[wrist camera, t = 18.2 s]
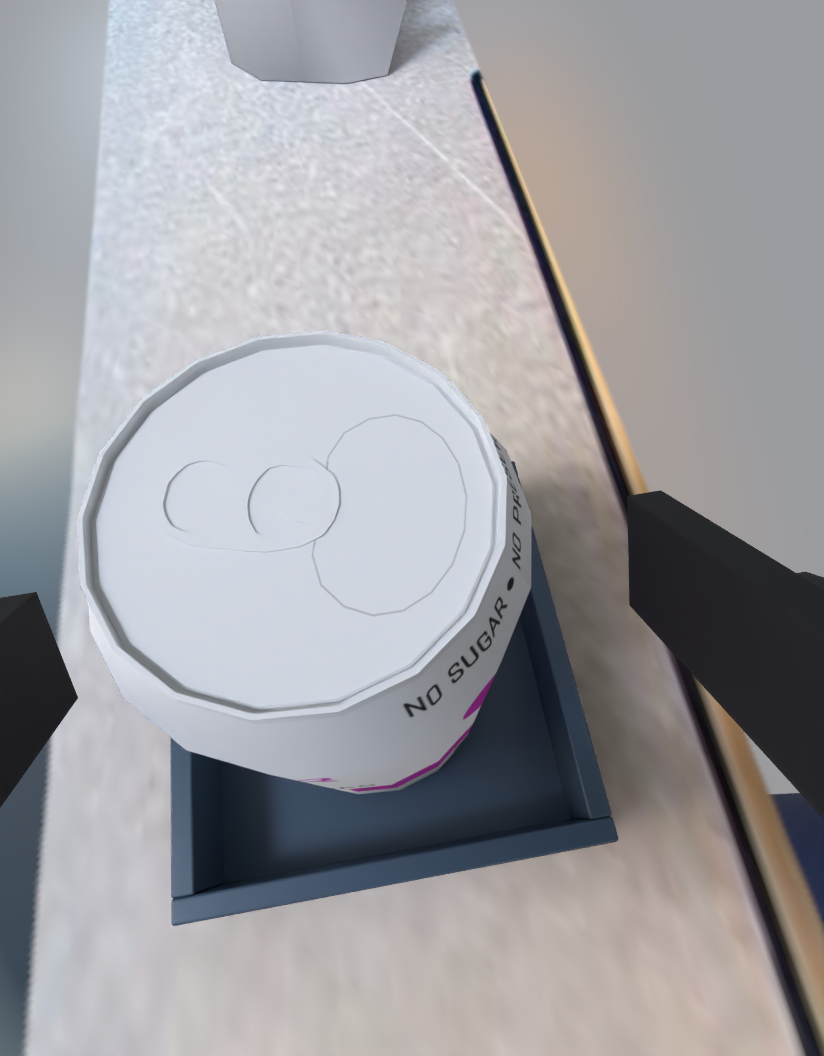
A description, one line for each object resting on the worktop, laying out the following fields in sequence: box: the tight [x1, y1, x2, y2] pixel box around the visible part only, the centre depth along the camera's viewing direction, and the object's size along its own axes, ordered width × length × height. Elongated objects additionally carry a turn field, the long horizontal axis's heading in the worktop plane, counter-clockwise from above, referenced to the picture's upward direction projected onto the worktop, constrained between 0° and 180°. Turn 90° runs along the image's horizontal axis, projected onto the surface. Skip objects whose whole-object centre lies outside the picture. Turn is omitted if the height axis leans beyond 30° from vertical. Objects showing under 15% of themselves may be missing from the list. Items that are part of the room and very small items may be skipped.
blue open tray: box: [171, 461, 618, 926], centre depth 23 cm, size 13×13×4 cm
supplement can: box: [77, 330, 532, 794], centre depth 17 cm, size 8×8×15 cm
